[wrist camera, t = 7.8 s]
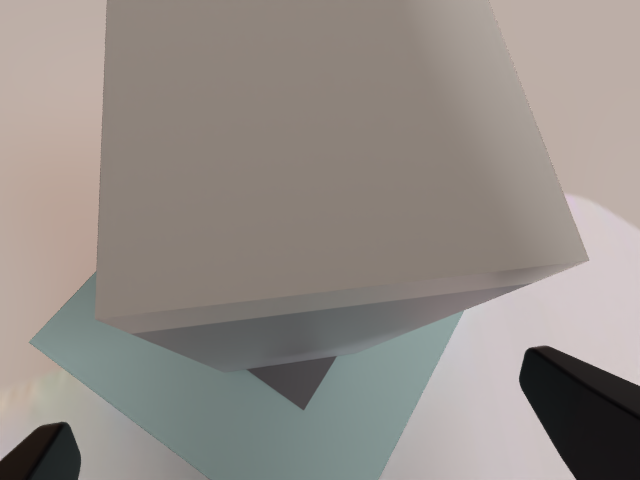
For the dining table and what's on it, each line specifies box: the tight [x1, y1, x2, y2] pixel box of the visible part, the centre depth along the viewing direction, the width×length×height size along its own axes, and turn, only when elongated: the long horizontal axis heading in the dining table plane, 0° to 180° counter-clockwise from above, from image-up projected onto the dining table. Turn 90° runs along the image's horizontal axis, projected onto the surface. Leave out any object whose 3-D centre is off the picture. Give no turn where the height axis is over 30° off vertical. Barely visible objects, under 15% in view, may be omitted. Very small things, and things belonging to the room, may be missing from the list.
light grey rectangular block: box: [95, 0, 589, 373], centre depth 10 cm, size 5×5×12 cm
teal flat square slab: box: [29, 271, 464, 480], centre depth 16 cm, size 13×13×1 cm
